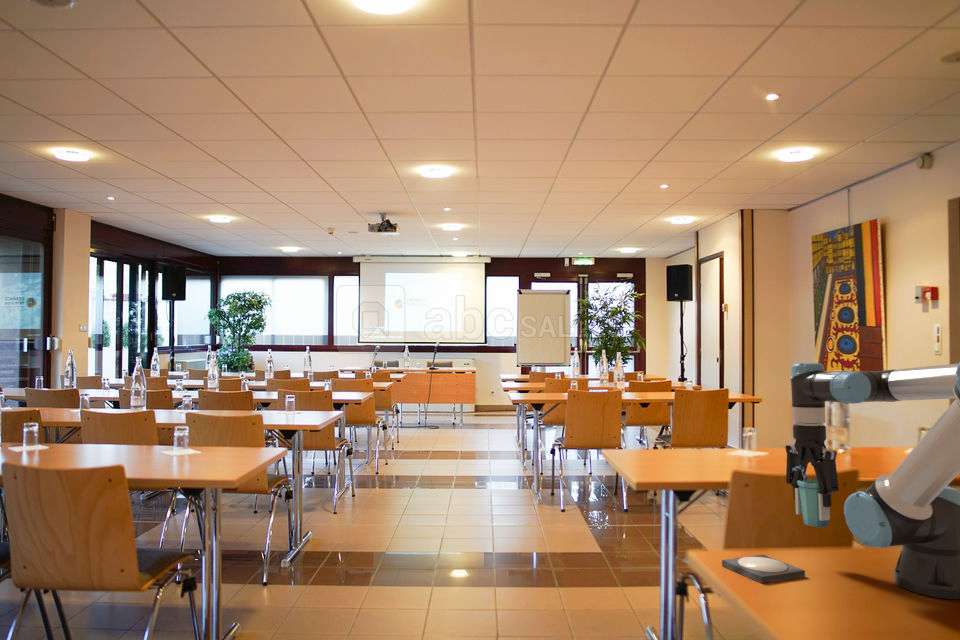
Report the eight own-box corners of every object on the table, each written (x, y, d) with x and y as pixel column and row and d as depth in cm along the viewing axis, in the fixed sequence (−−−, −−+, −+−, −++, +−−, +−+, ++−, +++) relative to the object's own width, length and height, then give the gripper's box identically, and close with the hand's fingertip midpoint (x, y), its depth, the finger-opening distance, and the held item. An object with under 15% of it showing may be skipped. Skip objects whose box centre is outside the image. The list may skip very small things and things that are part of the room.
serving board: (805, 576, 153) (804, 569, 153) (761, 583, 149) (761, 575, 149) (763, 560, 165) (763, 553, 165) (722, 566, 161) (721, 558, 161)
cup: (808, 531, 156) (805, 468, 157) (780, 524, 163) (778, 464, 164) (846, 525, 162) (843, 464, 163) (817, 518, 169) (815, 460, 170)
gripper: (854, 426, 157) (858, 524, 155) (790, 420, 175) (793, 507, 173) (830, 428, 154) (834, 527, 152) (768, 421, 172) (771, 509, 170)
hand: (812, 516), depth 163 cm, fingers closed on cup, 6 cm apart
